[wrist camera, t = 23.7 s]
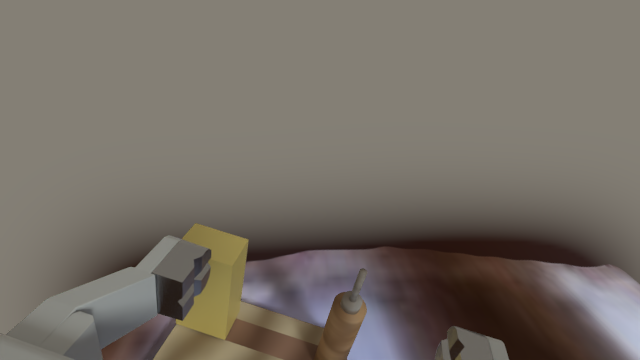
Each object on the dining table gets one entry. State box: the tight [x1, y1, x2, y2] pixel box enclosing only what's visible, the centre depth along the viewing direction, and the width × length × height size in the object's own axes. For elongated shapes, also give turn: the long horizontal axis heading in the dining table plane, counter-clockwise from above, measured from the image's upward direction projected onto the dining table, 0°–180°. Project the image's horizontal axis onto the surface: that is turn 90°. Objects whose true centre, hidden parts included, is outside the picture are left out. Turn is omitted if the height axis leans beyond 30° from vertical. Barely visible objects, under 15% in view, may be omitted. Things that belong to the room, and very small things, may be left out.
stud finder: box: [176, 223, 248, 340], centre depth 38 cm, size 4×6×12 cm
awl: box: [314, 269, 367, 360], centre depth 36 cm, size 3×3×15 cm
